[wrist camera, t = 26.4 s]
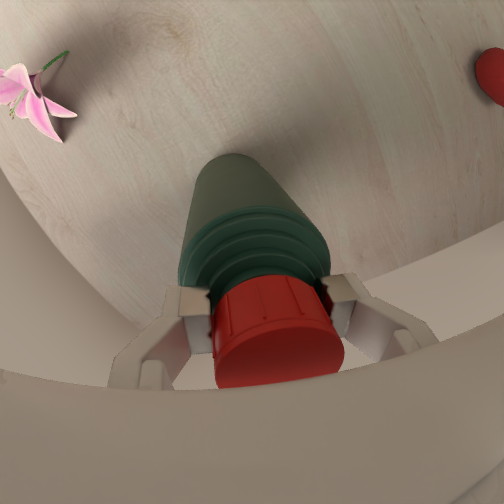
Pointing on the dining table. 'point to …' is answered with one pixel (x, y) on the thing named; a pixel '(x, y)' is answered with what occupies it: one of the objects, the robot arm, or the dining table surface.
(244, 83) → the dining table surface
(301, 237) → the bottle
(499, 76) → the tomato
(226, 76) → the dining table surface
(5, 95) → the lily
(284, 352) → the cap
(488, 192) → the dining table surface
